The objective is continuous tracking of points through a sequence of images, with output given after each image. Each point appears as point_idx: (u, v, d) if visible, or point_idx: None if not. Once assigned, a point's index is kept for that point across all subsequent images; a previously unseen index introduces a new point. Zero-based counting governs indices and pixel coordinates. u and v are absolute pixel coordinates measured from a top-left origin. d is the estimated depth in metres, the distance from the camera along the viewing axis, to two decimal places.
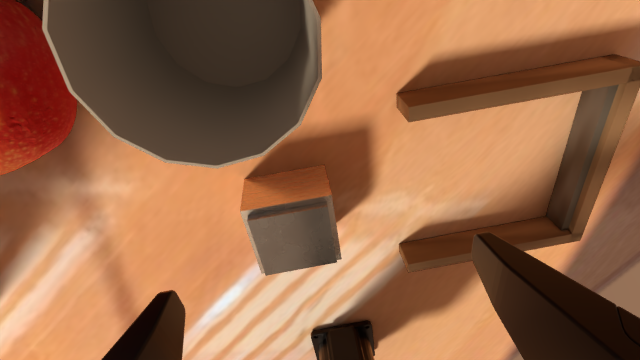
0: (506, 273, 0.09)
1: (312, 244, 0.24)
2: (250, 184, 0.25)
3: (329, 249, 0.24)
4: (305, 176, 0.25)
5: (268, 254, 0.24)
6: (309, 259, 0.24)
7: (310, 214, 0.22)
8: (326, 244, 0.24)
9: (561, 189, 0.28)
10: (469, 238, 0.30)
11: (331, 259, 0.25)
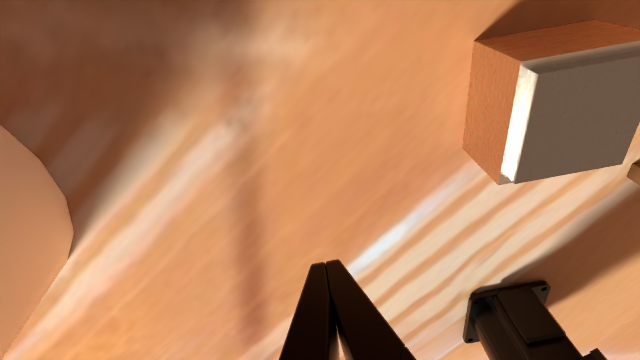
0: (333, 305, 0.09)
1: (607, 128, 0.15)
2: (493, 43, 0.16)
3: (625, 139, 0.15)
4: (579, 29, 0.16)
5: (536, 145, 0.15)
6: (588, 156, 0.16)
7: (635, 66, 0.14)
8: (626, 129, 0.15)
9: None
10: None
11: (617, 157, 0.16)
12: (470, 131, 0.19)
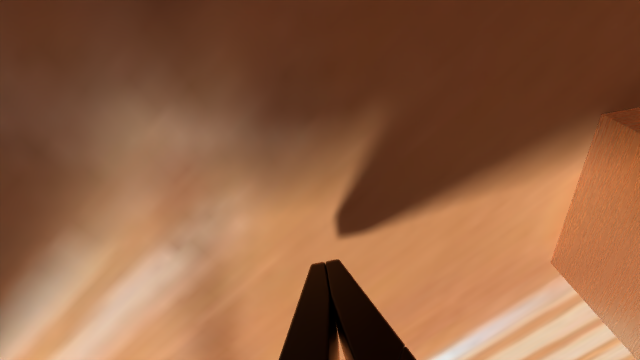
0: (333, 305, 0.09)
1: None
2: None
3: None
4: None
5: None
6: None
7: None
8: None
9: None
10: None
11: None
12: (574, 249, 0.11)
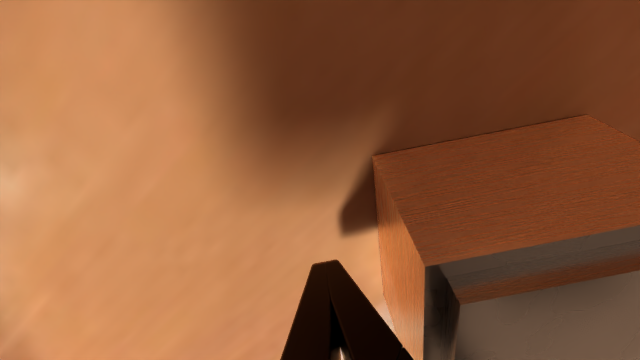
0: (332, 306, 0.09)
1: (619, 357, 0.08)
2: (401, 172, 0.09)
3: None
4: (564, 147, 0.08)
5: None
6: None
7: None
8: None
9: None
10: None
11: None
12: (388, 289, 0.11)
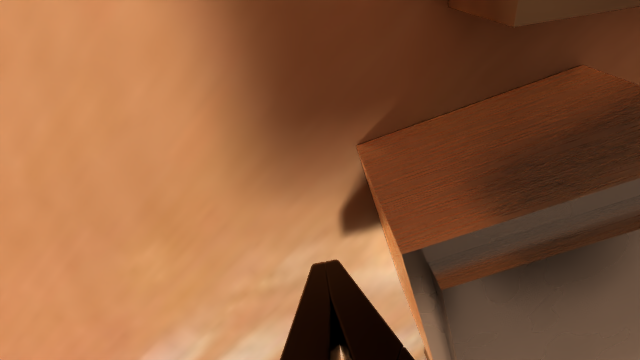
0: (332, 306, 0.09)
1: None
2: (384, 158, 0.08)
3: None
4: (555, 104, 0.08)
5: None
6: None
7: None
8: None
9: None
10: None
11: None
12: (399, 277, 0.11)
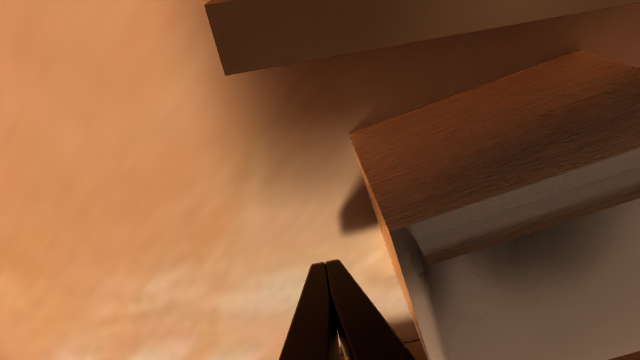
0: (333, 306, 0.09)
1: (634, 303, 0.07)
2: (375, 142, 0.08)
3: None
4: (545, 86, 0.08)
5: (480, 353, 0.07)
6: (603, 344, 0.08)
7: None
8: None
9: None
10: None
11: None
12: None
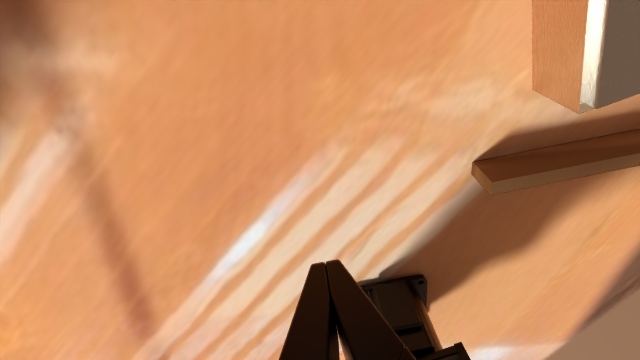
0: (333, 306, 0.09)
1: None
2: None
3: None
4: None
5: (614, 67, 0.16)
6: None
7: None
8: None
9: None
10: (567, 151, 0.23)
11: None
12: (540, 71, 0.20)
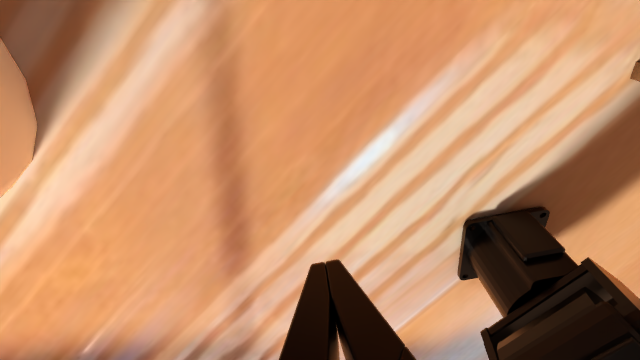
0: (333, 305, 0.09)
1: None
2: None
3: None
4: None
5: None
6: None
7: None
8: None
9: None
10: None
11: None
12: None
